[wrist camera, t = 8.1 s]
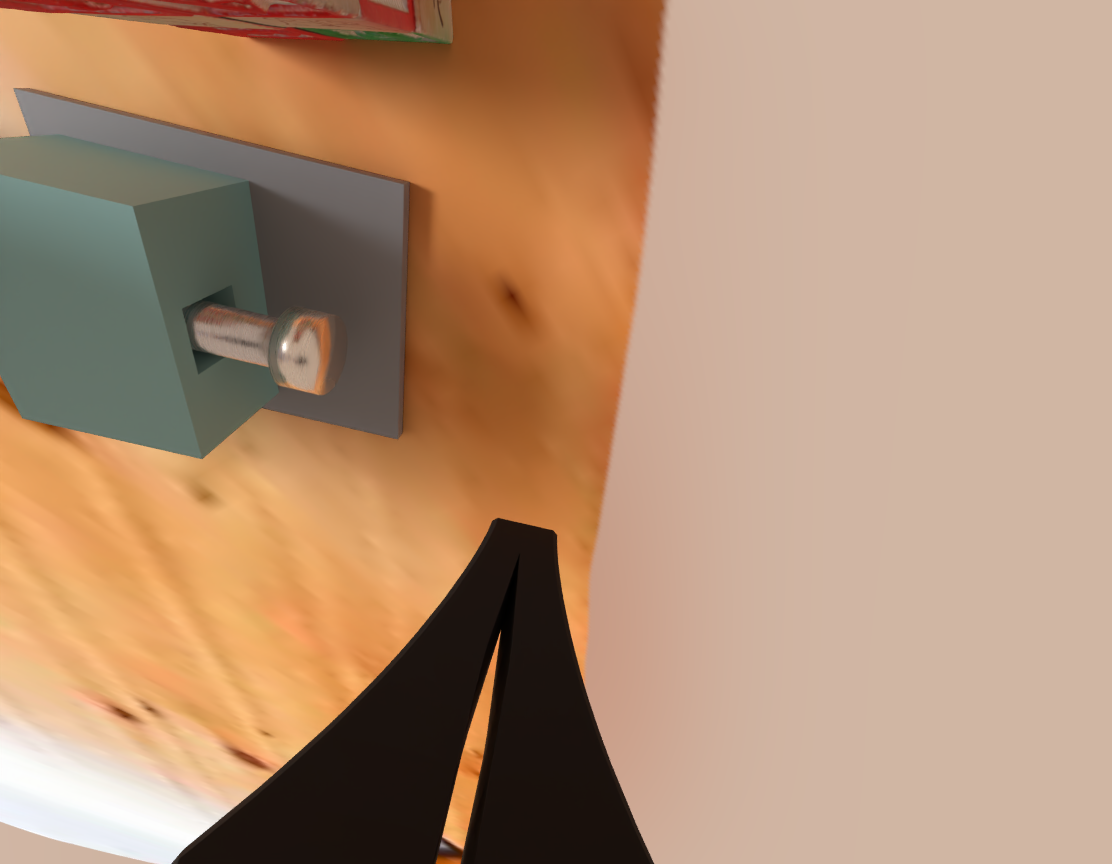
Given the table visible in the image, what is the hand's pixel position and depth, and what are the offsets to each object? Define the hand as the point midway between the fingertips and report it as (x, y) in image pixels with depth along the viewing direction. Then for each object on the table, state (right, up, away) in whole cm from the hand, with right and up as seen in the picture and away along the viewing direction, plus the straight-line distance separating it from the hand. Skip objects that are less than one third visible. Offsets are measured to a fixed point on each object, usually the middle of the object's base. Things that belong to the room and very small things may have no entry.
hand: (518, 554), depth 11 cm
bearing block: (-11, +8, +7) cm, 15 cm away
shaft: (-12, +7, +6) cm, 15 cm away
